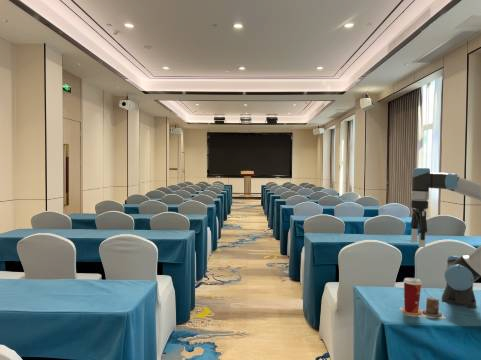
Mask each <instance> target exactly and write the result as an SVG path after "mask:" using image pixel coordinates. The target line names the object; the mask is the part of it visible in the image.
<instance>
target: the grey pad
mask: <svg viewBox="0 0 481 360" xmlns="http://www.w3.org/2000/svg"><path fill="white" fill-rule="evenodd" d="M422 313H423V314H425V315H427V316H432V317H441V316H442V315H443V313H442V312H440V311H439V312H438V314H437V315H433V314H429V313H426V309H424V310H423V311H422Z"/></svg>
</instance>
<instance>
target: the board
mask: <svg viewBox="0 0 481 360" xmlns="http://www.w3.org/2000/svg"><path fill="white" fill-rule="evenodd" d="M404 308H405V307H399V310H400V311H401V312H402V309H404ZM418 310H419V311H421V312H422V311H423V310H425V309H422V308H421V309H420V308H419V309H418ZM438 312H440V311H438ZM402 314H403V315H404V316H406V317H417V318H418V317H419V318H429V319H430V318H431V319H442V320H443V319H444V320H446V319H447V318H446V317H445V316H444V315H443V314H442V316H441V317H432V316H427V315H425V314H423V313H422V314H421V315H409V314H406V313H404V312H402Z"/></svg>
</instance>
